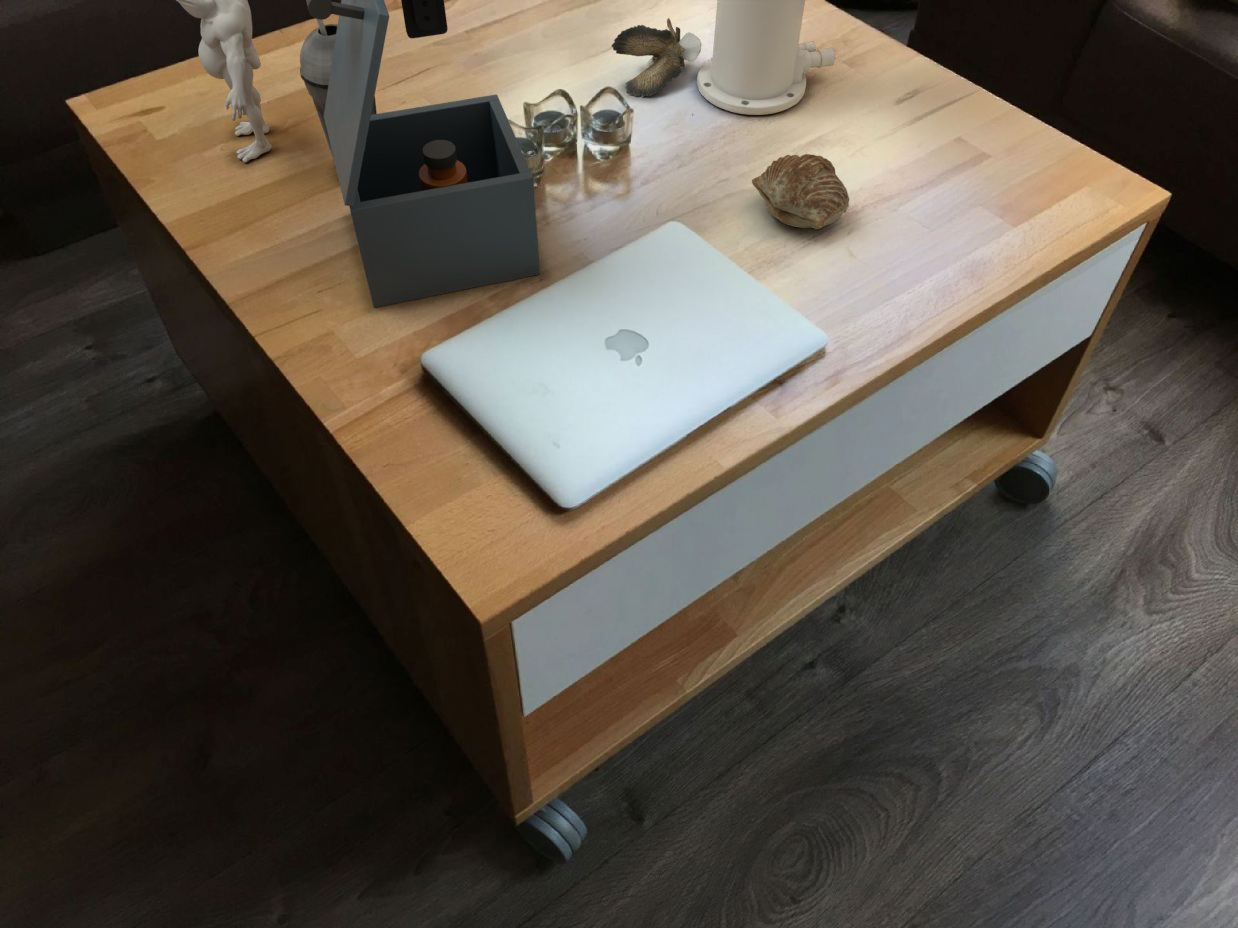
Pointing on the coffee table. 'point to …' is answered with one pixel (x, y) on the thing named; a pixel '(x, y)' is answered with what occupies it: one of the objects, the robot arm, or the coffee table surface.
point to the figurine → (232, 63)
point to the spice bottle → (441, 166)
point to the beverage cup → (320, 67)
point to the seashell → (803, 191)
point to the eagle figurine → (656, 55)
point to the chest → (444, 204)
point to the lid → (352, 81)
